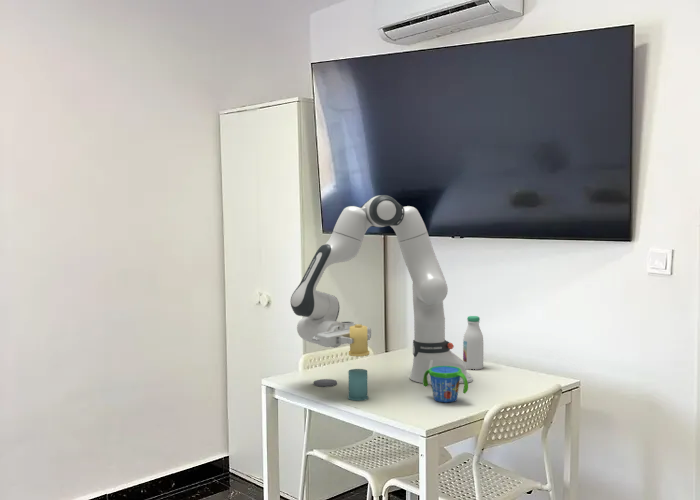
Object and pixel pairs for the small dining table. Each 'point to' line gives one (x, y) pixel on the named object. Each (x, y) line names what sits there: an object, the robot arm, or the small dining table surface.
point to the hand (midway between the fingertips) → (360, 339)
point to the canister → (357, 385)
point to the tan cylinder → (359, 340)
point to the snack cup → (445, 382)
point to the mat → (325, 382)
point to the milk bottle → (473, 344)
